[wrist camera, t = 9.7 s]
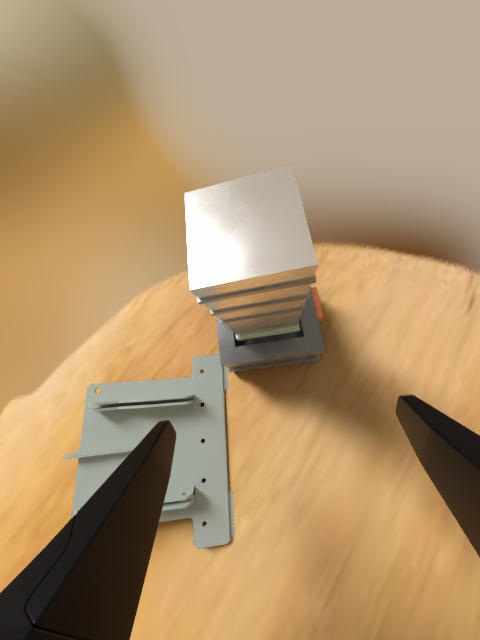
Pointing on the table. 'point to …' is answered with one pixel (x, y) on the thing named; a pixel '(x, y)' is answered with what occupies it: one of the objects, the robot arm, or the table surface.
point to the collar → (275, 343)
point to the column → (251, 252)
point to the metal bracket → (189, 454)
